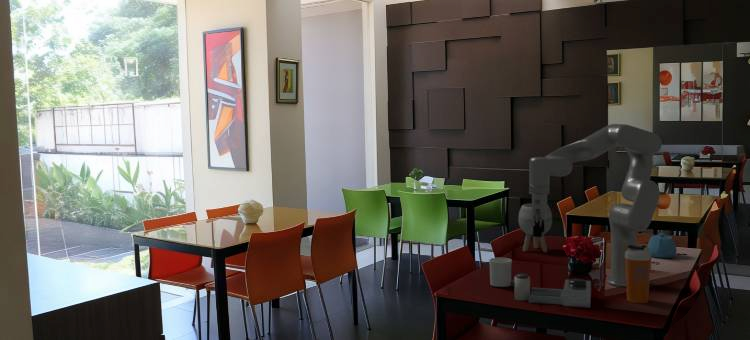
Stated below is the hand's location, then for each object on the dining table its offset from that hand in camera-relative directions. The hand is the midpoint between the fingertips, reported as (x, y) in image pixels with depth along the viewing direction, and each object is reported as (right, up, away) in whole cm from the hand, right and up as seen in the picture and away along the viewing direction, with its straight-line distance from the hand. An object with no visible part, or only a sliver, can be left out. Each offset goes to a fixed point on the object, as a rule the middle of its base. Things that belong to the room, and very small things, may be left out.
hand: (538, 234), depth 250 cm
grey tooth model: (+16, -15, +73) cm, 76 cm away
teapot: (+70, -16, +53) cm, 90 cm away
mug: (-12, -22, +12) cm, 27 cm away
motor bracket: (+6, -23, -9) cm, 25 cm away
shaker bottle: (+32, -23, -14) cm, 42 cm away
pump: (-8, -23, -7) cm, 25 cm away
